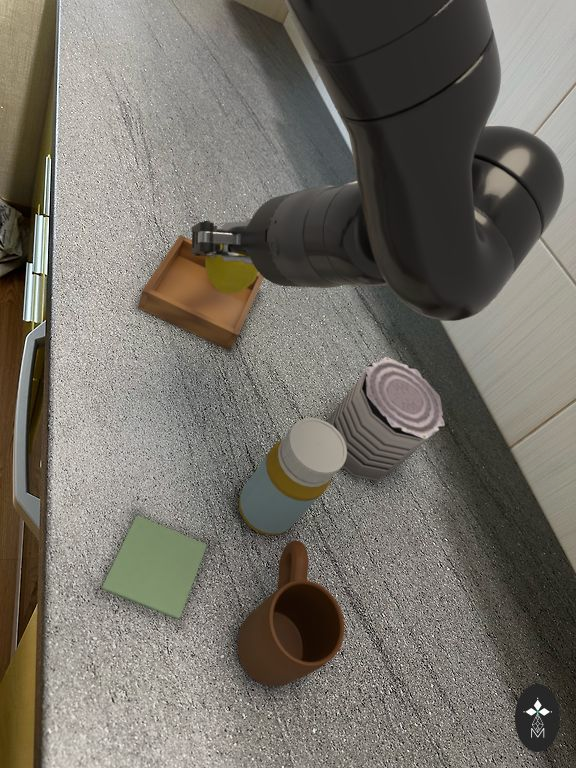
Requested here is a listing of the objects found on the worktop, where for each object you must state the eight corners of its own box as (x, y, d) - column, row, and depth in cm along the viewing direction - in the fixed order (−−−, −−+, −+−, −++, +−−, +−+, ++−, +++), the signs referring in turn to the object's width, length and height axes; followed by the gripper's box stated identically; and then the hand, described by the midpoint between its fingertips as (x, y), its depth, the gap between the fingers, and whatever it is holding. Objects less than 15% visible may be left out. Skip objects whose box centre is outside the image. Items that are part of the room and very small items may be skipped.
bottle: (279, 475, 70) (332, 408, 59) (302, 528, 67) (362, 468, 56) (228, 488, 66) (274, 419, 55) (250, 545, 63) (303, 484, 52)
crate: (137, 308, 77) (142, 289, 74) (175, 252, 86) (180, 234, 83) (230, 351, 78) (238, 335, 76) (257, 292, 87) (264, 275, 85)
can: (321, 400, 79) (361, 346, 71) (393, 417, 83) (439, 368, 74) (325, 473, 72) (369, 423, 64) (403, 488, 76) (456, 443, 67)
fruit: (248, 312, 62) (275, 257, 56) (198, 304, 60) (220, 246, 54) (243, 276, 65) (267, 220, 59) (195, 267, 63) (215, 209, 57)
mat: (101, 589, 55) (101, 587, 54) (135, 516, 60) (136, 514, 60) (178, 619, 56) (179, 618, 55) (205, 546, 61) (207, 544, 61)
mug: (235, 562, 61) (265, 528, 54) (301, 568, 64) (337, 536, 57) (234, 688, 54) (268, 666, 47) (308, 689, 56) (351, 669, 49)
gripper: (388, 200, 48) (291, 217, 63) (229, 177, 41) (162, 202, 56) (382, 291, 49) (288, 286, 64) (226, 283, 42) (161, 280, 57)
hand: (230, 247), depth 60 cm, fingers closed on fruit, 5 cm apart
